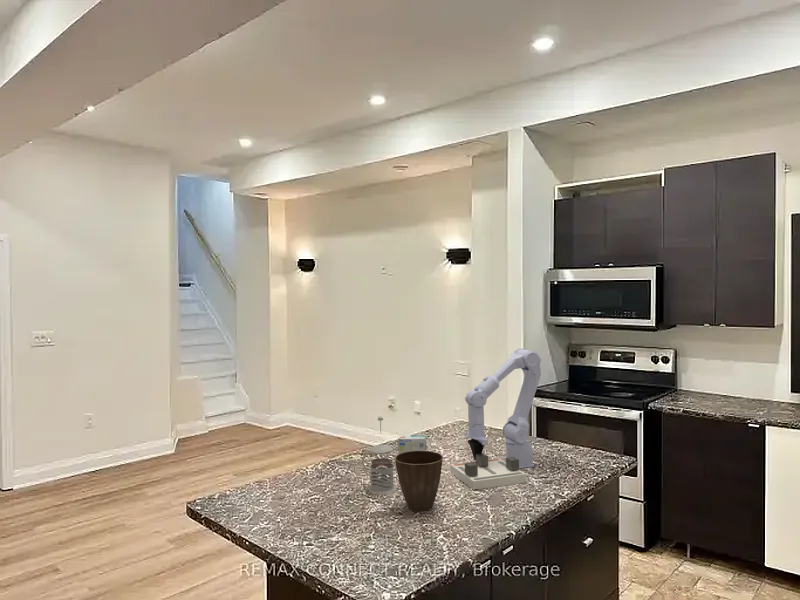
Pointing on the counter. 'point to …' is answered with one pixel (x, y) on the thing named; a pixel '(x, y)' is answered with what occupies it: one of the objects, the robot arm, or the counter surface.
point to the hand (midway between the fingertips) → (477, 459)
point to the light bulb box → (411, 443)
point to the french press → (381, 470)
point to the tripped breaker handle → (481, 460)
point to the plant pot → (419, 478)
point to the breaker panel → (489, 473)
